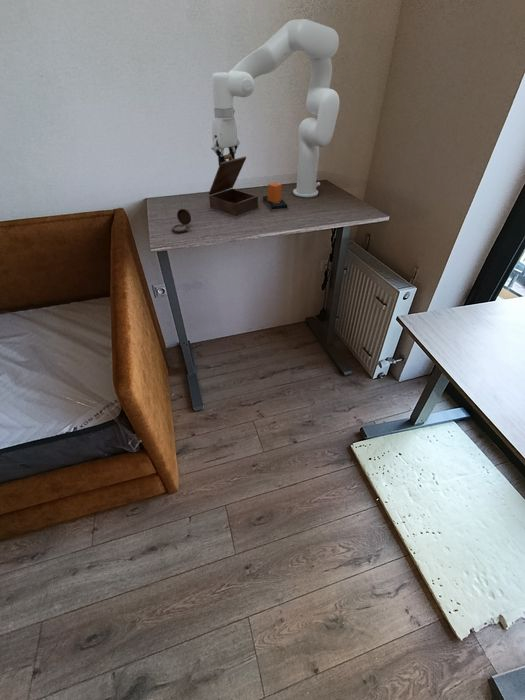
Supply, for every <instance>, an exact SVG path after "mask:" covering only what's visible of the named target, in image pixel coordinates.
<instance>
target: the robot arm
mask: <svg viewBox="0 0 525 700" xmlns="http://www.w3.org/2000/svg"><path fill="white" fill-rule="evenodd" d="M339 45H340V38H339V35H338V32H337V31H336V29H334V28H333V27H330V26H327V25H325V24H322V23H318V22H316V21H313V20H311V19H308V18H307V19H306V18H298V19H291V20H289V21H287V22H286V23H284V24H283V26H281V27H280V28H279V29H278V30H277V31H276V32H275V33H274V34H273V35H272V36H271V37H270V38H269V39H267V40H266V42H264V43H263V44H262V45H261V46H259V47H258V48H256V49H255V50H254V51H252V52H251V53H249V54H247V55H246V56H245V57H244V58H242V59H241V60H240V61H239V62H237V63H236V64H235V66H234V67H232V68H231V69H230V70H229V71H228V72H227V71H226V72H224V71H223V72H222V71H221V72H220V71H219V72H214V73H213V74H212V75H211V83H212V86H211V87H212V88H211V89H212V101H213V113H214V117H213V118H212V125H211V128H212V129H211V135H212V136H211V137H212V139H211V140H212V144H211V147H210V148H211V150H212V151H213V152H214V153H215V154H216V156H217V159H218V167H219V166H220V163H221V162H225V159H224V156H223V155H224V153H225V149H228V154H231V155H232V158H233V159H236V155H235V154H236V153H237V151H238V150H237V149H238V148H239V146H240V145H241V142H240V141H239V139H238V130H237V123H236V117H235V111H236V110H235V109H234V97H237V98H239V97H240V98H248V97H250V96H251V95H252V94H253V93H254V91H255V84H256V83H255V80H254V79H256V78H258V77H260V76H262V75H266V74H270V73H272V72H274V71H276V70H277V69H278V68H279V67H280V66H281V65H282V64H283V63H284V62H285V61H287V59H289V58H290V57H291V56H292V55H293V54H294V53H295V52H304V53H305V55H306V57H307V58H308V61H309V64H310V69H311V72H310V80H309V86H308V91H307V97H306V110H307V111H308V112H309V113H310V114H312V115H315V116H317V118H315V117H307V118H304V119H303V120H302V121H301V123H299V127H298V129H297V130H298V131H297V136H298V158H297V159H298V160H297V161H298V162H297V175H296V188H294V189H293V190H292V194H293V195H294V196H296V197H298V198H314V197H317V196H318V195H319V190H318V189H317V188H318V187H320V186H321V182H320V181H317V177H318V168H319V159H320V148H324V147H326V146H327V145H329V144H330V142H331V141H332V138H333V136H334V131H335V127H336V124H337V119H338V114H339V109H340V97H339V94H338V92H337V91H336V90H334V89H332V88H331V82H332V76H333V63H332V59H331V58H333V57H334V56H335V55H336V54H337V51H338V50H339V47H340V46H339ZM229 160H231V159H228V161H229Z"/></svg>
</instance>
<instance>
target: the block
mask: <svg viewBox="0 0 525 700" xmlns="http://www.w3.org/2000/svg"><path fill="white" fill-rule="evenodd" d="M282 189H283V185H282V183H278V182H270V183H269V184H267V196H268V201H271V202H274V203H276V202H278V201H281V199H282V192H283V191H282Z"/></svg>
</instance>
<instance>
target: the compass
mask: <svg viewBox="0 0 525 700" xmlns="http://www.w3.org/2000/svg"><path fill="white" fill-rule="evenodd" d="M176 216H177V220H178V222H179V223H180V224H175V225H174V226H172V228H171V231H172V232H173V233H175V234H184V233H186V232H190V231H191V230H192V229H190V228H189V227H188V225H189V224H190V223H191V222H192V216H191V213H190V212H189V210H188V209H186V208H180V209H179V210H178V211H177V213H176Z"/></svg>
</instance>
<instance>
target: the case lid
mask: <svg viewBox="0 0 525 700" xmlns="http://www.w3.org/2000/svg"><path fill="white" fill-rule="evenodd" d="M223 156H224V159H225V162H221V163H220V166H219V165H218V168H217V171H216V174H215V175H214V179H213V181H212V184H211V186H210V190H209V192H208V196H210V195H213V194H216V193H219V192H222V191H225V190H228V189H232V188H233V189H234V187H235V184H236V181H237V180H238V177H239V175H240V173H241V170H242V168H243V166H244V164H245V162H246V159H247V156H245V155H244V156H242V157H237V158H235V159H233V158H232V155H231V154H229V153H228V154H223ZM229 159H231V160H229Z"/></svg>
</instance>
